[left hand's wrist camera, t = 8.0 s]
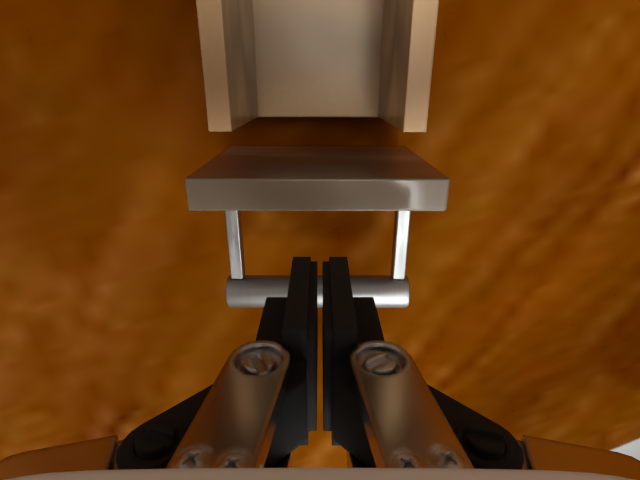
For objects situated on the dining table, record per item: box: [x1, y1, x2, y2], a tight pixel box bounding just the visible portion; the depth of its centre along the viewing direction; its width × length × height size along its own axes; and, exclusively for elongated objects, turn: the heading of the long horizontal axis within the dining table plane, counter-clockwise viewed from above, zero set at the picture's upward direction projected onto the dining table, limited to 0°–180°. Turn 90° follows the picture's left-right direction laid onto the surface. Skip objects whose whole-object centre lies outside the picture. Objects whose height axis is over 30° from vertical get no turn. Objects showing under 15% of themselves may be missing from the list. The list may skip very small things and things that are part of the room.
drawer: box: [185, 0, 450, 308], centre depth 15 cm, size 25×9×8 cm, turn 0°
